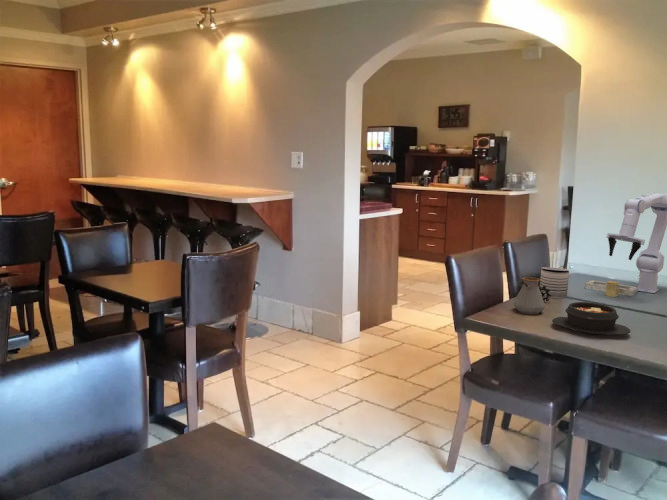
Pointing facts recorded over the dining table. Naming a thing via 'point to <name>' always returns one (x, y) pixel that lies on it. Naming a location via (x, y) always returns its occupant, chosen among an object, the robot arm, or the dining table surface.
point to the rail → (602, 285)
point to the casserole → (591, 319)
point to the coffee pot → (529, 297)
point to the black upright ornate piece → (545, 293)
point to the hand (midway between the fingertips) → (620, 257)
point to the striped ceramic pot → (555, 281)
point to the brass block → (612, 289)
